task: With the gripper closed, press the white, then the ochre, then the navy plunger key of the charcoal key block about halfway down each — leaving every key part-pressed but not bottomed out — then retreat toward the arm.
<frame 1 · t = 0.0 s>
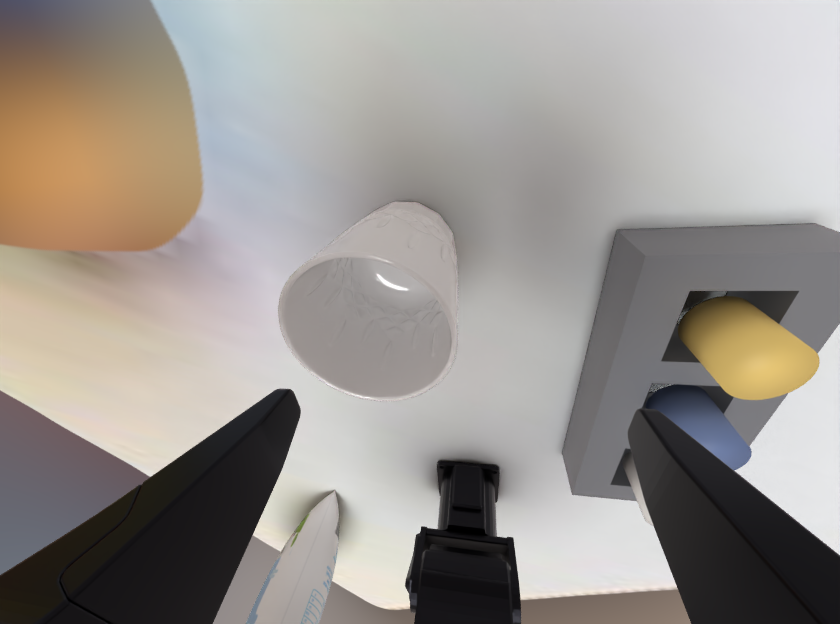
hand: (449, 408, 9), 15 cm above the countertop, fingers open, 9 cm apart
pouch: (322, 517, 47), on the countertop
white cup: (407, 249, 22), on the countertop
navy key: (692, 428, 20), point 5 cm above the countertop, slide at 0.0 cm
ochre key: (738, 345, 17), point 5 cm above the countertop, slide at 0.0 cm
key block: (653, 369, 24), on the countertop
white key: (660, 486, 24), point 5 cm above the countertop, slide at 0.0 cm
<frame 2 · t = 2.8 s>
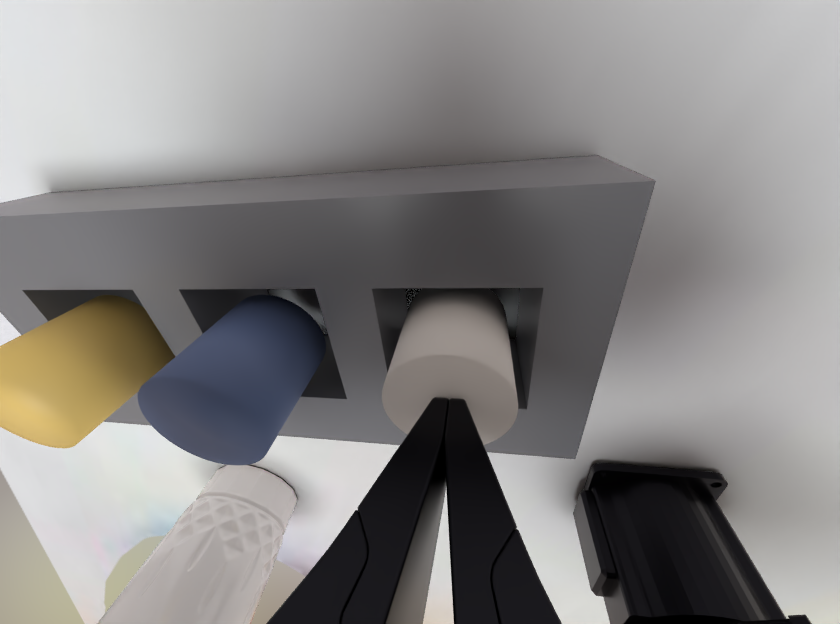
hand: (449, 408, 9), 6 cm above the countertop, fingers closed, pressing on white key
white cup: (259, 485, 26), on the countertop
navy key: (247, 374, 10), point 5 cm above the countertop, slide at 0.0 cm
ochre key: (84, 366, 11), point 5 cm above the countertop, slide at 0.0 cm
key block: (315, 293, 15), on the countertop
white key: (452, 357, 10), point 4 cm above the countertop, slide at 1.1 cm, touching gripper
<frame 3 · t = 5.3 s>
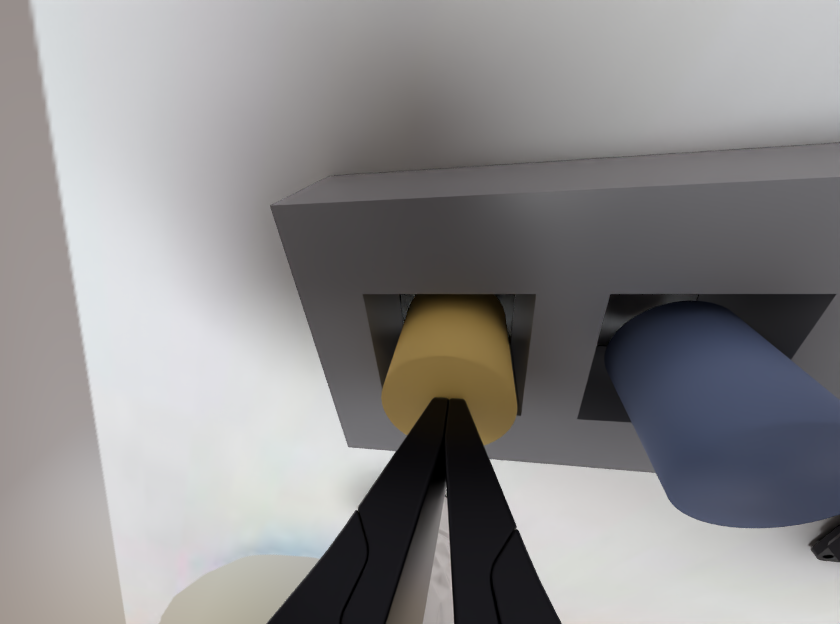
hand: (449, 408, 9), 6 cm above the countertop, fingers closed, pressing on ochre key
white cup: (415, 506, 24), on the countertop
navy key: (710, 403, 8), point 5 cm above the countertop, slide at 0.0 cm
ochre key: (452, 358, 10), point 4 cm above the countertop, slide at 1.4 cm, touching gripper
key block: (627, 297, 12), on the countertop
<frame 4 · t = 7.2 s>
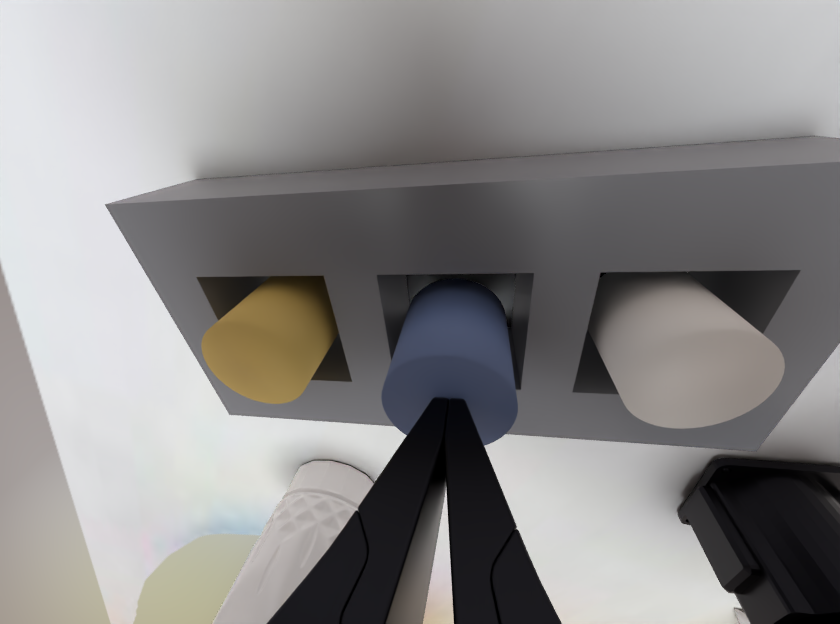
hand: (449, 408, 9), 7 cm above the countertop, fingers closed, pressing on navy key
white cup: (338, 481, 26), on the countertop
navy key: (452, 357, 10), point 5 cm above the countertop, slide at 0.2 cm, touching gripper
ochre key: (284, 330, 12), point 4 cm above the countertop, slide at 1.5 cm
key block: (459, 283, 14), on the countertop
white key: (661, 338, 10), point 4 cm above the countertop, slide at 1.5 cm
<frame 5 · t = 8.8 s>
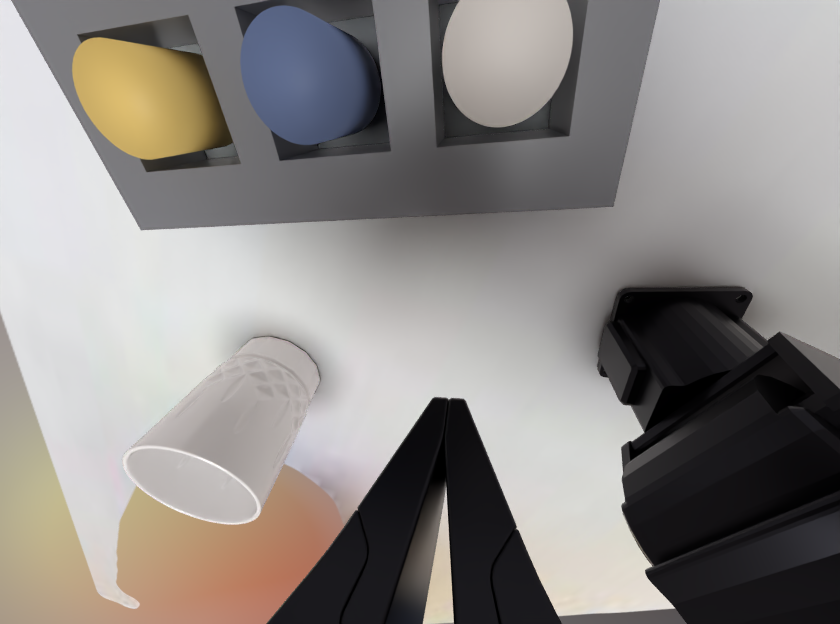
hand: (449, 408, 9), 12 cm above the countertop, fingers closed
white cup: (282, 366, 27), on the countertop
navy key: (320, 84, 12), point 4 cm above the countertop, slide at 1.5 cm
ochre key: (169, 103, 13), point 4 cm above the countertop, slide at 1.5 cm
key block: (352, 88, 15), on the countertop
white key: (500, 61, 11), point 4 cm above the countertop, slide at 1.5 cm
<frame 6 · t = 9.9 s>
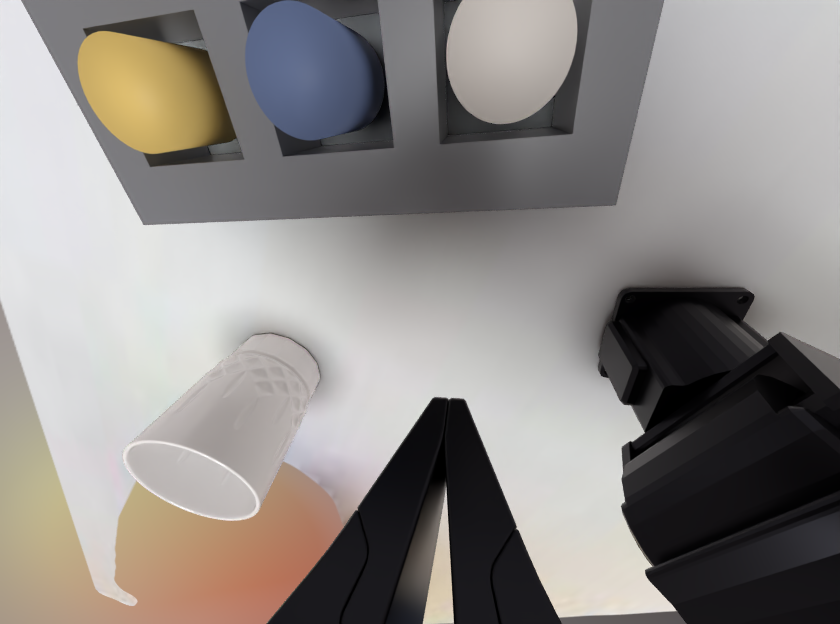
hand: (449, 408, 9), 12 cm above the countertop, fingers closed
white cup: (282, 363, 27), on the countertop
navy key: (324, 80, 12), point 4 cm above the countertop, slide at 1.5 cm
ochre key: (174, 98, 13), point 4 cm above the countertop, slide at 1.5 cm
key block: (356, 85, 15), on the countertop
white key: (504, 59, 11), point 4 cm above the countertop, slide at 1.5 cm
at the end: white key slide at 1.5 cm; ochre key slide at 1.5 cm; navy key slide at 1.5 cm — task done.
